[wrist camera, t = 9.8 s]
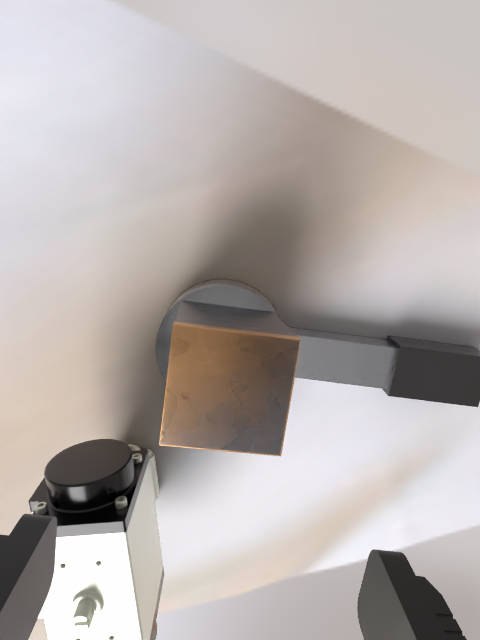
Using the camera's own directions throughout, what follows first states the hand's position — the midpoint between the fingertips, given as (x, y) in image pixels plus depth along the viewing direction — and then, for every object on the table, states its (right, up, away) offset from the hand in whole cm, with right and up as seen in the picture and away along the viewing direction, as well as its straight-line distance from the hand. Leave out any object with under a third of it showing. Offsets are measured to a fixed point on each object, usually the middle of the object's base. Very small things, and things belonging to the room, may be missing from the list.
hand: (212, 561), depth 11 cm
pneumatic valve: (-7, -5, +21) cm, 23 cm away
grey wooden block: (0, +4, +16) cm, 16 cm away
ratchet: (+6, +4, +19) cm, 20 cm away
